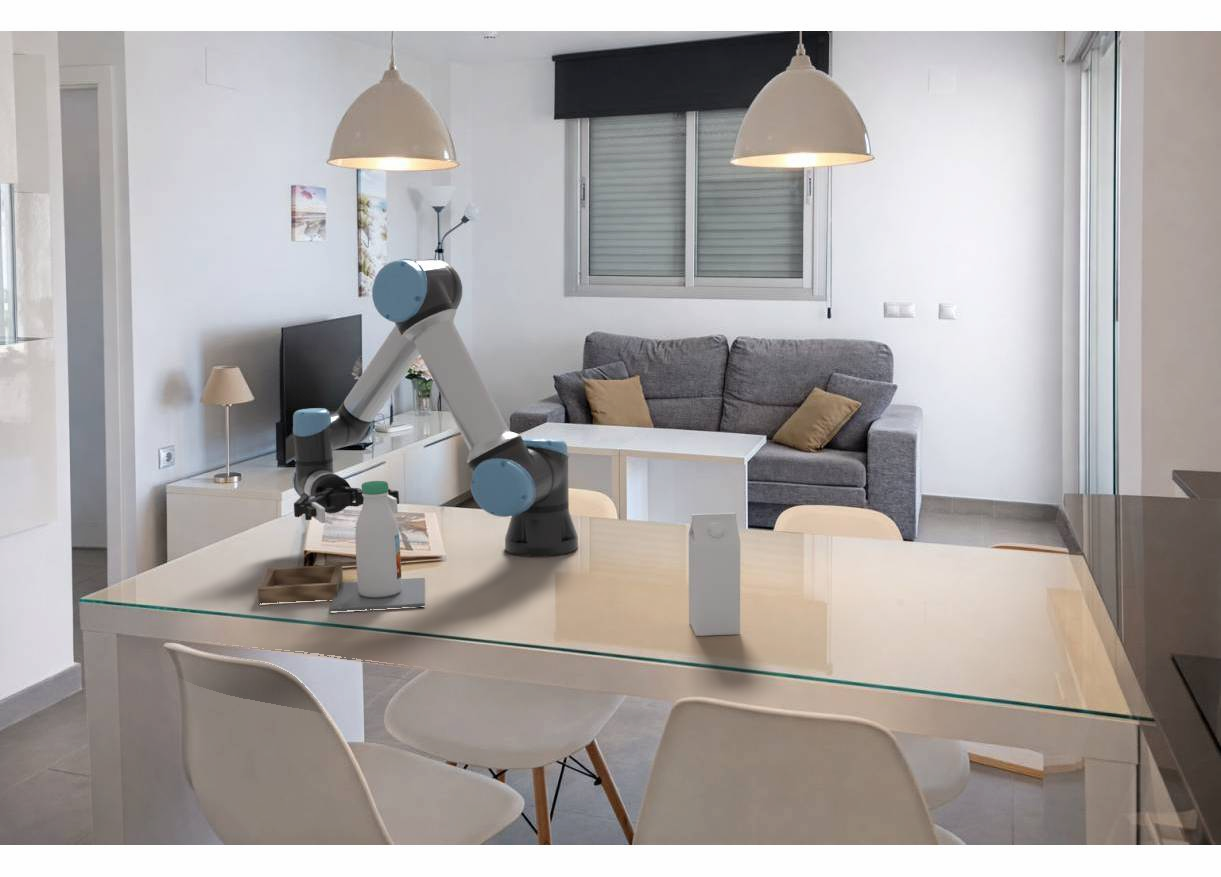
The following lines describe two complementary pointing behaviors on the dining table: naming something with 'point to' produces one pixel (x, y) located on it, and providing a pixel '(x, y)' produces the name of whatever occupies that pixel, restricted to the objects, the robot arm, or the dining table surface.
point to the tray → (300, 576)
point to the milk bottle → (377, 544)
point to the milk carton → (714, 574)
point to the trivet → (407, 597)
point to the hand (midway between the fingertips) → (360, 510)
